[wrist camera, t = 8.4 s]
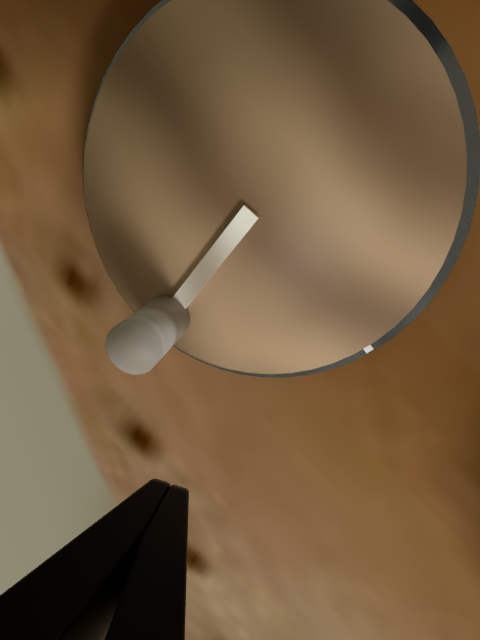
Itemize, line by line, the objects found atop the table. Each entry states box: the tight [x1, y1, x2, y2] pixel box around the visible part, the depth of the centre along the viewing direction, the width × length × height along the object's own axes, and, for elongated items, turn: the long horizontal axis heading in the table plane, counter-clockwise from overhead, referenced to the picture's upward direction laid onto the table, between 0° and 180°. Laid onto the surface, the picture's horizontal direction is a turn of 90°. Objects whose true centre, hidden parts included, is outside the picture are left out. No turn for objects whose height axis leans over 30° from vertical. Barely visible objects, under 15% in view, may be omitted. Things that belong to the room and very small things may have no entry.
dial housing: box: [83, 0, 480, 377], centre depth 17 cm, size 18×18×1 cm
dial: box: [84, 0, 467, 375], centre depth 14 cm, size 16×16×5 cm
